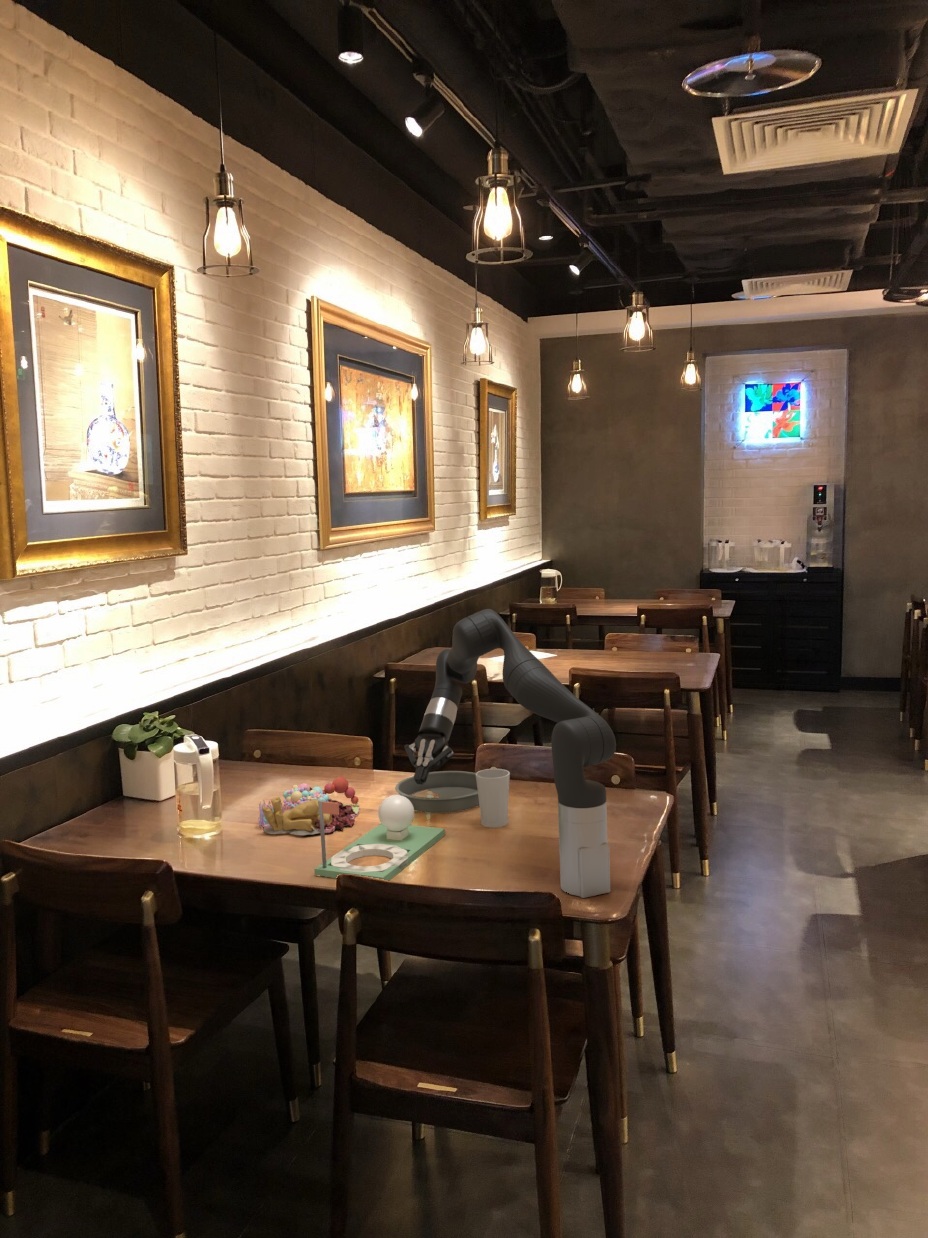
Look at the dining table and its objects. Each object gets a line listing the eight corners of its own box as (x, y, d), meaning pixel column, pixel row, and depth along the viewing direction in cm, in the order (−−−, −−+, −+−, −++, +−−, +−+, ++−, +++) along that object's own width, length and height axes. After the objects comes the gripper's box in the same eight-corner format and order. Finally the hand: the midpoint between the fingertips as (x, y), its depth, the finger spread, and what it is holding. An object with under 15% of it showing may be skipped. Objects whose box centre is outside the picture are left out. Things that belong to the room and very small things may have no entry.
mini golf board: (383, 828, 222) (379, 764, 220) (445, 835, 216) (442, 768, 214) (314, 876, 195) (310, 802, 193) (383, 885, 188) (379, 809, 187)
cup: (508, 829, 218) (506, 778, 216) (474, 828, 220) (472, 778, 218) (513, 818, 226) (512, 768, 224) (481, 817, 227) (479, 768, 226)
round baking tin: (449, 781, 260) (448, 765, 259) (512, 799, 241) (511, 782, 241) (376, 802, 244) (375, 785, 243) (438, 823, 225) (437, 804, 225)
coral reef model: (353, 837, 218) (351, 798, 217) (251, 842, 218) (248, 803, 217) (362, 803, 243) (360, 768, 242) (270, 808, 243) (268, 773, 242)
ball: (420, 832, 209) (418, 797, 208) (385, 839, 206) (383, 803, 205) (408, 822, 216) (406, 788, 216) (374, 828, 214) (373, 793, 213)
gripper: (468, 730, 232) (449, 793, 222) (419, 727, 237) (399, 788, 227) (458, 713, 227) (439, 776, 217) (409, 710, 232) (387, 772, 222)
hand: (418, 782), depth 222 cm, fingers closed
